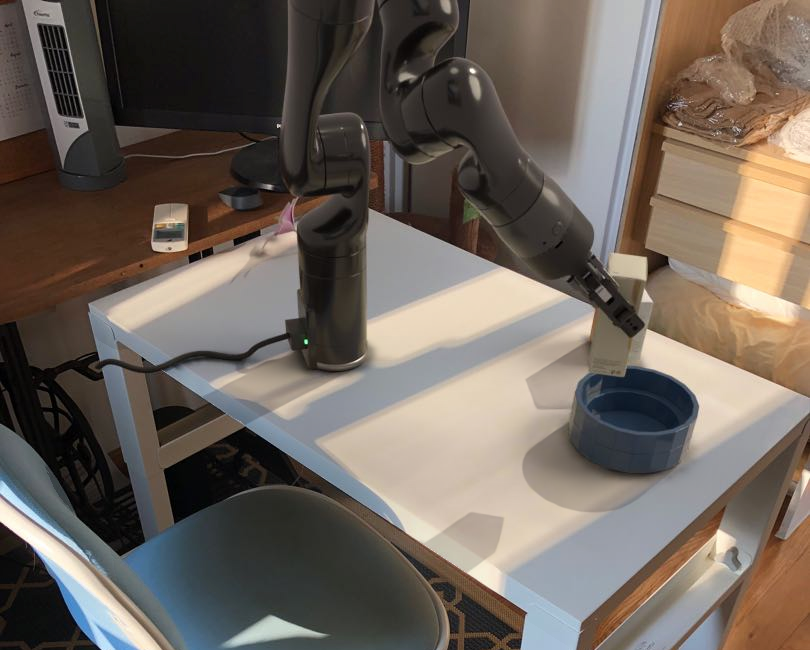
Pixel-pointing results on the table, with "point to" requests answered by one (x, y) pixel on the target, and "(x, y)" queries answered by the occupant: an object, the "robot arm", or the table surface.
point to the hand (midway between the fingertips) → (621, 313)
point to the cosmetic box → (607, 338)
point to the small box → (640, 336)
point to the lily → (285, 221)
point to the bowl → (633, 420)
